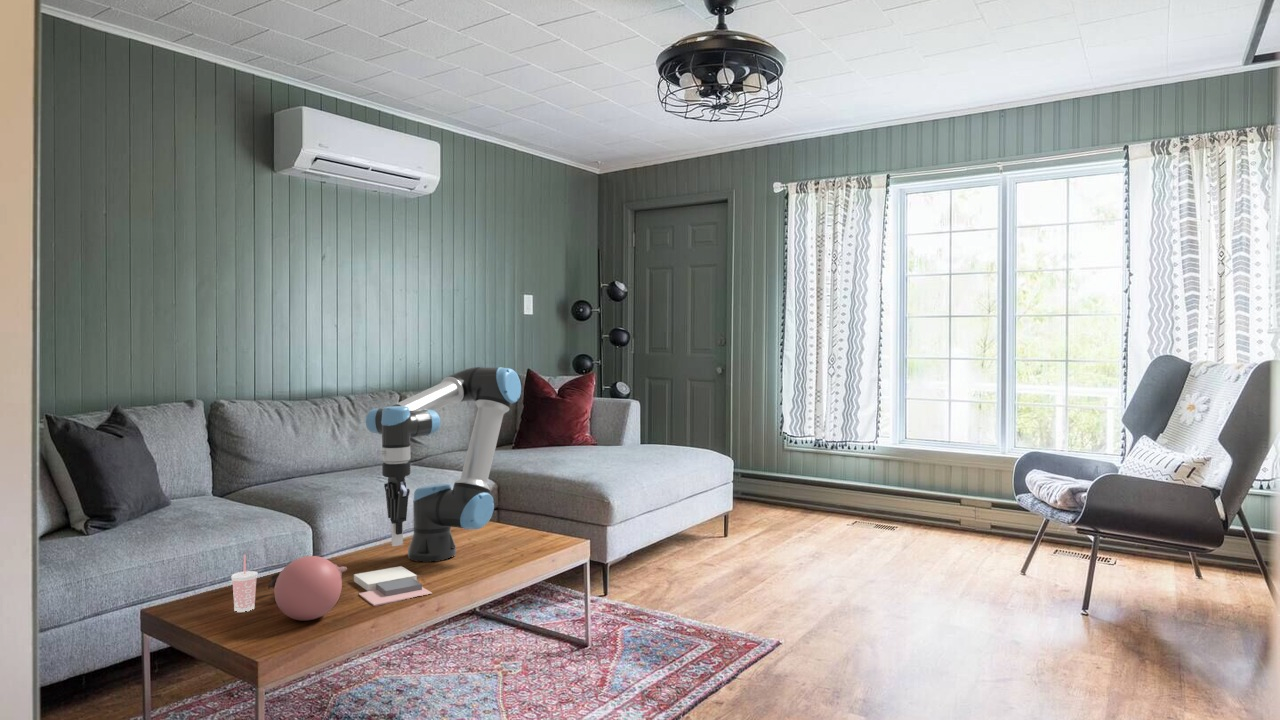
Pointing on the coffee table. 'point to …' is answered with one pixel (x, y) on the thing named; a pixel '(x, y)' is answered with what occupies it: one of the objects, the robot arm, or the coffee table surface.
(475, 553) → the coffee table surface
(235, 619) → the coffee table surface
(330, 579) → the balloon
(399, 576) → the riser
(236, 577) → the beverage cup
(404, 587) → the coaster
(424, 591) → the felt mat
